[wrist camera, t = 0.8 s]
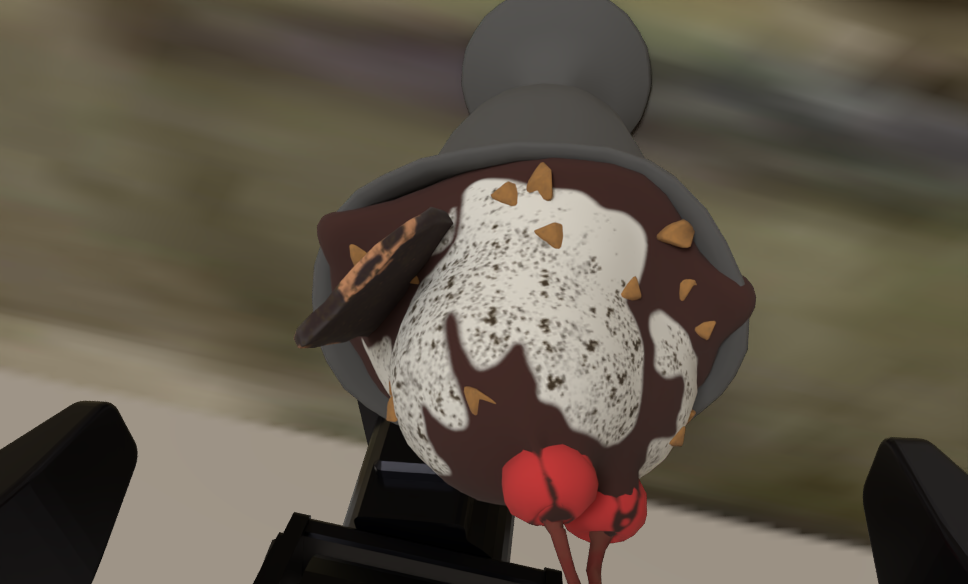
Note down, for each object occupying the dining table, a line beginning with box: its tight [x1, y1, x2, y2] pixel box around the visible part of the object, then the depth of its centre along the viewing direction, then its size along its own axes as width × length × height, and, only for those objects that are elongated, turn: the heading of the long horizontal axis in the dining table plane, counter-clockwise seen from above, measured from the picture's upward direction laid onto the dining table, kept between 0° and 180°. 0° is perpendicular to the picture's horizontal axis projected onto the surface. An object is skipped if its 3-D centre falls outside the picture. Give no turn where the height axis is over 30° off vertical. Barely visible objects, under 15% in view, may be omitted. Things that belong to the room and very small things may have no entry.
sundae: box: [294, 0, 756, 584], centre depth 13 cm, size 7×7×15 cm
